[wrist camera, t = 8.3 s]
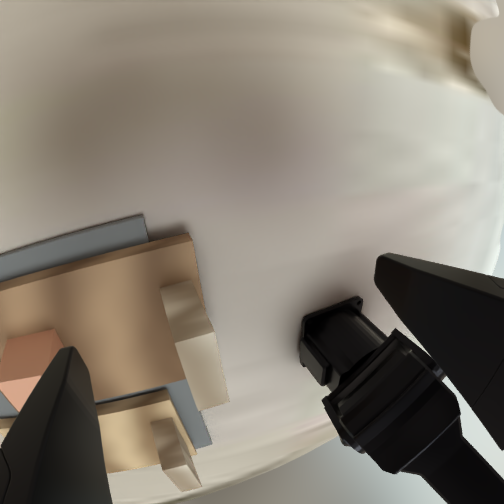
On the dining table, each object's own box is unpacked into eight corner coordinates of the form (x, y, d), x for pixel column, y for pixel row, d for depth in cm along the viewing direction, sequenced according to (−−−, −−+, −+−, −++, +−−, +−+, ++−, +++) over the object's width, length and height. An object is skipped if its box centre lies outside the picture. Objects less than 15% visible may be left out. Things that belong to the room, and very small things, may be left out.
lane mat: (142, 214, 18) (143, 217, 17) (211, 440, 31) (212, 444, 30) (-86, 286, 12) (-89, 289, 11) (59, 470, 25) (59, 473, 24)
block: (54, 328, 16) (47, 374, 13) (78, 371, 18) (78, 415, 15) (7, 339, 15) (-5, 383, 12) (33, 379, 17) (28, 422, 14)
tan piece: (166, 389, 24) (185, 450, 18) (194, 445, 29) (211, 492, 24) (-3, 419, 18) (-8, 473, 13) (53, 470, 23) (57, 515, 18)
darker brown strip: (188, 232, 19) (217, 285, 14) (213, 358, 24) (241, 418, 19) (-49, 297, 13) (-81, 357, 8) (19, 402, 18) (14, 462, 13)
